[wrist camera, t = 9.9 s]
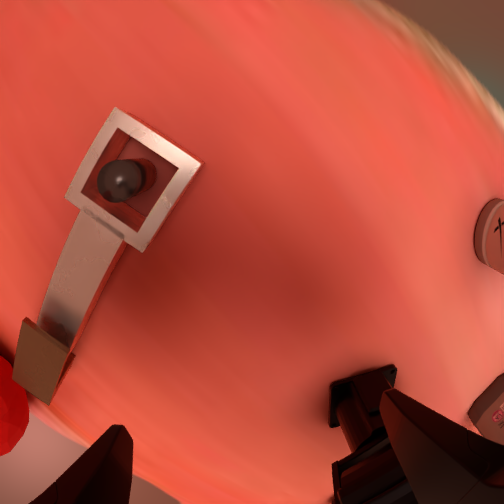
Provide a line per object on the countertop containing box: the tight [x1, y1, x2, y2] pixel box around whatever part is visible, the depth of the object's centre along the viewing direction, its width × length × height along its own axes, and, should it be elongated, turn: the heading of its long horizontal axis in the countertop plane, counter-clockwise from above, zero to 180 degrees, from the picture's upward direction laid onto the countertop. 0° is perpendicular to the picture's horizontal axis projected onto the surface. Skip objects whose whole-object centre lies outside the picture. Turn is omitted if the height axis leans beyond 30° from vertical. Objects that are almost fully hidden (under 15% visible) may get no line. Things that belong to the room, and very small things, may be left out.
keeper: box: [12, 317, 75, 405], centre depth 17 cm, size 7×4×5 cm, turn 143°
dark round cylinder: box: [97, 159, 157, 203], centre depth 15 cm, size 2×2×4 cm
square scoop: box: [36, 107, 205, 356], centre depth 16 cm, size 16×6×3 cm, turn 143°
